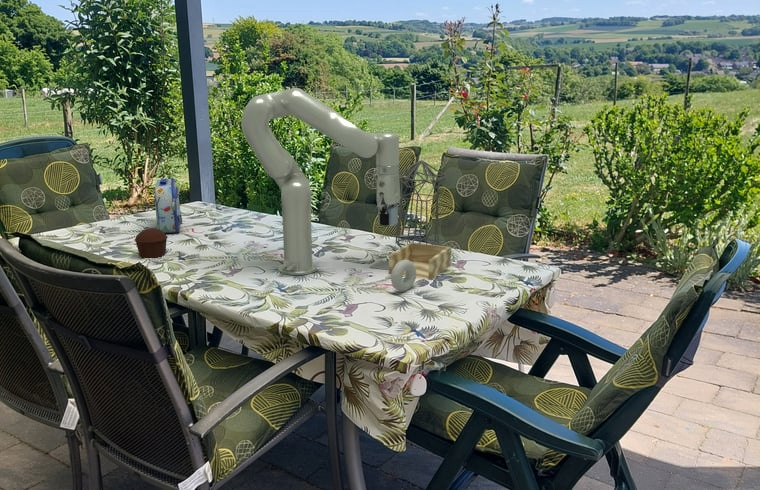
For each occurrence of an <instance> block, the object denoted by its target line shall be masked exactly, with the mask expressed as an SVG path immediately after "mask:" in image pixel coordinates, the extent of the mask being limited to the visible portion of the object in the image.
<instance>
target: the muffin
mask: <svg viewBox="0 0 760 490" xmlns="http://www.w3.org/2000/svg"><path fill="white" fill-rule="evenodd" d="M168 238H169V237H168V236H167V233H164V232H163V231H161V230H160V229H157V227H156V228H155V227H149V228H145V229H142V230H141V231H140V232H138V233H137V235H136V237H135V238H134V241H135V244H136V247H137V251H138V255H139V257H140V258H141V259H143V258H157V259H159V258H158V257H160V258H163V257H164V256H166V251H167V240H168ZM162 256H163V257H162Z"/></svg>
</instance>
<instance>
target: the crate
mask: <svg viewBox="0 0 760 490" xmlns="http://www.w3.org/2000/svg"><path fill="white" fill-rule="evenodd" d="M451 259H452V246H445V245H439V244H437V245H431V244H430V243H429V244H428V243H427V244H426V243H419V242H414V243H413V241H410V243H409V242H408V243H407V244H406V245H405V246H404V245H402V248H400V247H399V249H397V250H395V251H393V252H392V253H390V254H389V255H388V262H389V270H388V274H389V275H391V273H392V270H393V268H394V266H395V265H396V264H397V263H398V262H399V261H401V260H409V261H411V262H412V263H413V264H414V265H415V268H416V279H423V280H428V281H432V280H434V279H435V278H436V277H438V276H439V275H440V274H441V273H443V272H444V271H445V270H447V268H449V267H450V266H451V265H452V264H451V263H452V260H451ZM405 276H406V272H405V271H404V272H403V275H402V277H405Z"/></svg>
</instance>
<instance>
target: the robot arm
mask: <svg viewBox="0 0 760 490" xmlns="http://www.w3.org/2000/svg"><path fill="white" fill-rule="evenodd" d="M288 116H293V117H295V118H296V119H297V120H299V121H301V122H302V123H304V124H306V125H308V126H309V127H311V128H312V129H314V130H315V131H318V132H319V133H320V134H322V135H324V136H325V137H327V138H329V139H331V140H333V141H335V142H336V143H337V144H340V145H341V146H343V147H344V148H346V149H347V150H349V151H351V152H352V153H354V154H356V155H357V156H359V157H361V158H365V159H370V158H372V157H373V156H375V155H376V157H375V158H376V163H375V164H376V165H375V166H376V176H377V179H376V180H377V181H376V204H377V205H376V207H377V210H378V209H379V214H380V225H379V226H381V225H385V226H384V227H389V226H388V225H389V214H388V207H389V206H397V204H398V203H399V202H401V181H400V180H399V178H400V177H399V175H400V174H399V172H400V137H399V134H398V133H396V132H380V133H376V132H368V131H365V130H362V129H361V128H360V127H358V126H357V125H355V124H354V123H352V122H350V121H348V119H346V118H345V117H343V116H342V114H340V113H339V111H338V112H337V110H335V109H333V108H332V107H330V106H329V105H327V104H325V103H323V102H322V101H321V100H319V99H317V98H315V97H314V96H312V95H310V94H309V93H307V92H305V91H304V90H303V89H302V88H299V87H292V88H288V89H284V90H279V91H273V92H269V93H264V94H259V95H256V96H254V97H252V98H251V99H249V101H248V102H247V104H246V106H245V108H244V110H243V113H242V114H241V123H240V124H241V131H242V134H243V137H244V138H245V141H246V142H247V143H248V145H249V147H250V148H251V150H252V151H253V153H254V155H255V157H256V158H257V160H258V161H259V163H260V165H261V166H262V167H263V169H264V172H265V173H266V174H267V175H268V176H269V177H270V178H271V179H274V181H275V183H276V184H277V187H279V189H280V191H281V194H280V195H281V197H280V198H281V199H280V200H281V209H282V210H281V215H282V220H281V221H282V239H283V240H282V242H283V261H282V262H283V263H282V264H281V265H278V267H277V271H279V272H280V273H282V274H285V275H289V276H302V275H303V276H305V275H309V274H312V273H313V274H314V273H315V272H316V271H317V270H318V265H317V264H316V263H313V241H312V240H313V239H312V238H313V237H312V191H311V185H310V183H309V180H308V178H307V177H306V175H305V173H304V172H303V171H302V169H301V168H300V166H299V165H298V163H297V162H296V160H295V159H294V157H293V156H292V155H291V152H289V151H288V150H287V149H285V148H283V147H282V145H281V144H280V142H279V141H278V139H277V138H276V136H275V135H274V132H273V131H272V129H271V128H270V124H269V123H270V120H275V119H278V118H284V117H288ZM383 206H385V207H386V209H385V208H384V207H383Z"/></svg>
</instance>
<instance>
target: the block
mask: <svg viewBox="0 0 760 490" xmlns="http://www.w3.org/2000/svg"><path fill="white" fill-rule="evenodd" d="M383 207H384V208H385V209H386V207H385V206H383ZM398 212H399V211H398V206H397V205H396V206H389V207H388V214H389V225H388V226H387V227H393V226H396V225H398V218H399V213H398ZM377 225H378V226H381V227H382V226H384V227H386V226H385V225H380V214H379V209H378V208H377Z"/></svg>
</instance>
